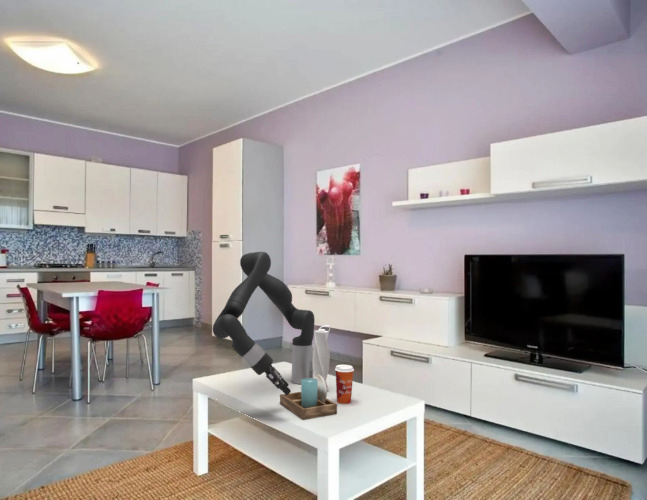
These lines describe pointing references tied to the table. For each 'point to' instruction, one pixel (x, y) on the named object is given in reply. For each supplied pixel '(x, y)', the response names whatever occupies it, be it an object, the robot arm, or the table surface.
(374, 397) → the table surface
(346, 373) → the paper cup
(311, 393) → the teal dome-topped cylinder
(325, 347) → the skyscraper
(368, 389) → the table surface
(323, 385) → the tray
